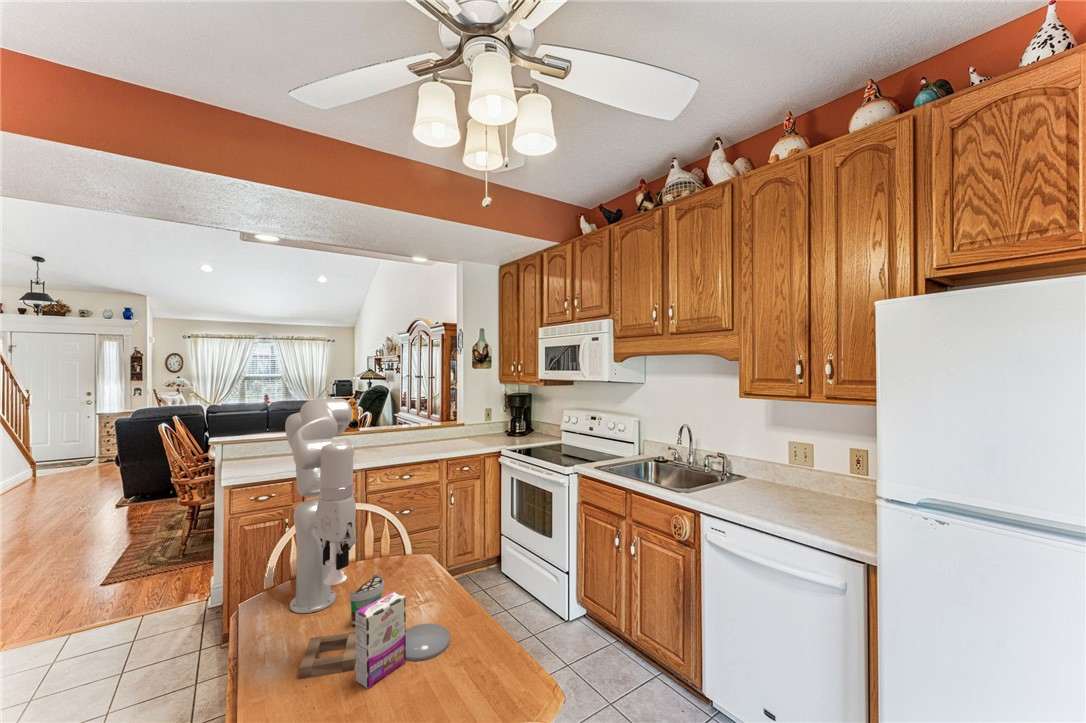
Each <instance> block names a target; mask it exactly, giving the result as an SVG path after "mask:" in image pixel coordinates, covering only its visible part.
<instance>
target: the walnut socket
mask: <svg viewBox="0 0 1086 723" xmlns="http://www.w3.org/2000/svg"><path fill="white" fill-rule="evenodd" d="M355 634H356V633H355V631H351V632H350V631H349V632H344V633H343V632H342V633H335V634H329V635H322V636H315V637H311V638H310V639H309V641H308V644H307V647H306V649H305V651H304V653H303V657H302V658H301V663H300V665H299V668H298V680H302V679H307V678H313V677H319V676H320V677H321V676H325V675H331V674H336V673H338V674H339V673H342V672H349V671H355V670H356V652H355V649H356V641H355ZM339 650H344V652H343V654H337V655H332V656H331V655H330V656H324V657H319V656H320V653H326V652H331V651H339Z"/></svg>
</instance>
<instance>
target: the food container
mask: <svg viewBox="0 0 1086 723" xmlns="http://www.w3.org/2000/svg"><path fill="white" fill-rule="evenodd" d="M372 576H373V577H372V578H371V579H370V580H368V581H367V582H365V583H363V584H362V585H361V586H360V587H359V588H358V589H357V590H356V591H355V592H350V593H349V599H348V601H350V613H351V614H350V616H351V627H354V628H355V612H356V611H358V610H360V609H362V608H363V607H365V606H367V605H369V604H371V603H373V602H375V601H377V600H378V599H380V598H382V597H383V596H382V595H383V594H382V593H383V591H384V590H385V581H384V579H383V577H382V576H381V575H378V574H375V573H374V574H373V575H372Z"/></svg>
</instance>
